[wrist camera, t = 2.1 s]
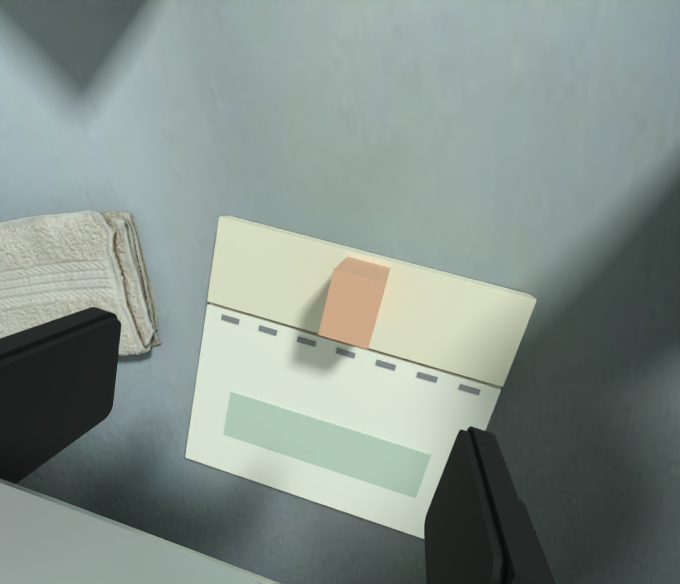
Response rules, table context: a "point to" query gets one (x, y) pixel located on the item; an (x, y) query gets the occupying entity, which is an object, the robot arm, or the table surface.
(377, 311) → the stub
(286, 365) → the ticket
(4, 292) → the washcloth
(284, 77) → the table surface
